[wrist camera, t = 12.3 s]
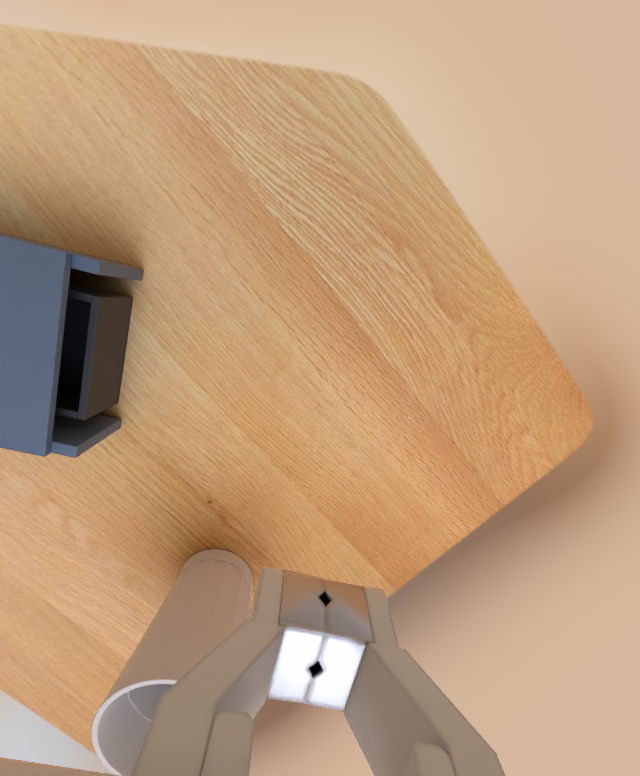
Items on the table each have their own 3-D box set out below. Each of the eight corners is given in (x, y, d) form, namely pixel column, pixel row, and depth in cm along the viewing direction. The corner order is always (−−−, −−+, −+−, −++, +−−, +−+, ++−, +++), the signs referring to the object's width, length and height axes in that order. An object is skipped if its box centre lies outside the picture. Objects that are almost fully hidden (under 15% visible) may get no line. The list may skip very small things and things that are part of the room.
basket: (133, 297, 27) (100, 296, 23) (118, 402, 29) (84, 420, 24) (-14, 261, 26) (-77, 253, 22) (-20, 372, 28) (-81, 385, 24)
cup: (255, 534, 32) (226, 670, 20) (269, 614, 33) (249, 782, 22) (160, 546, 32) (74, 690, 20) (179, 626, 33) (110, 801, 22)
